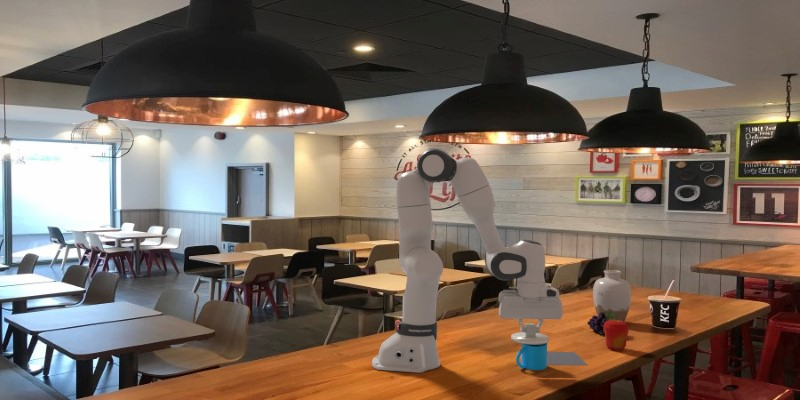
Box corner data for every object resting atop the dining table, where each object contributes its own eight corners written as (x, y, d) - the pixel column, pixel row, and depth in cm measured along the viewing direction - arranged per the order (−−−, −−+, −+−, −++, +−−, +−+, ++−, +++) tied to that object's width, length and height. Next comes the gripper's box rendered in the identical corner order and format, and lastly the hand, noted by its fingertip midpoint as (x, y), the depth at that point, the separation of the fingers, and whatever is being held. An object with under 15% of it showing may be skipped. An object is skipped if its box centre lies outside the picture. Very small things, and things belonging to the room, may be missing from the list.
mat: (539, 366, 203) (539, 364, 203) (529, 352, 219) (529, 351, 219) (588, 367, 203) (588, 365, 203) (574, 353, 219) (574, 351, 219)
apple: (633, 350, 224) (633, 318, 223) (616, 353, 220) (617, 320, 219) (614, 345, 231) (615, 313, 231) (598, 347, 227) (599, 315, 227)
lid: (514, 344, 194) (515, 328, 193) (508, 334, 206) (508, 320, 205) (552, 344, 193) (553, 329, 193) (544, 335, 205) (544, 320, 205)
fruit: (596, 337, 256) (629, 334, 245) (581, 336, 249) (615, 334, 238) (593, 312, 258) (626, 308, 248) (579, 311, 252) (612, 307, 241)
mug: (533, 360, 206) (534, 336, 205) (551, 368, 200) (552, 343, 199) (507, 367, 200) (507, 343, 199) (525, 376, 193) (526, 351, 192)
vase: (632, 321, 272) (634, 270, 271) (628, 328, 258) (629, 274, 257) (595, 317, 279) (597, 267, 279) (589, 324, 265) (590, 271, 265)
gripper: (500, 291, 196) (499, 334, 196) (564, 292, 196) (563, 335, 196) (497, 287, 202) (496, 329, 203) (559, 288, 202) (558, 330, 203)
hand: (530, 332), depth 199 cm, fingers closed on lid, 3 cm apart
